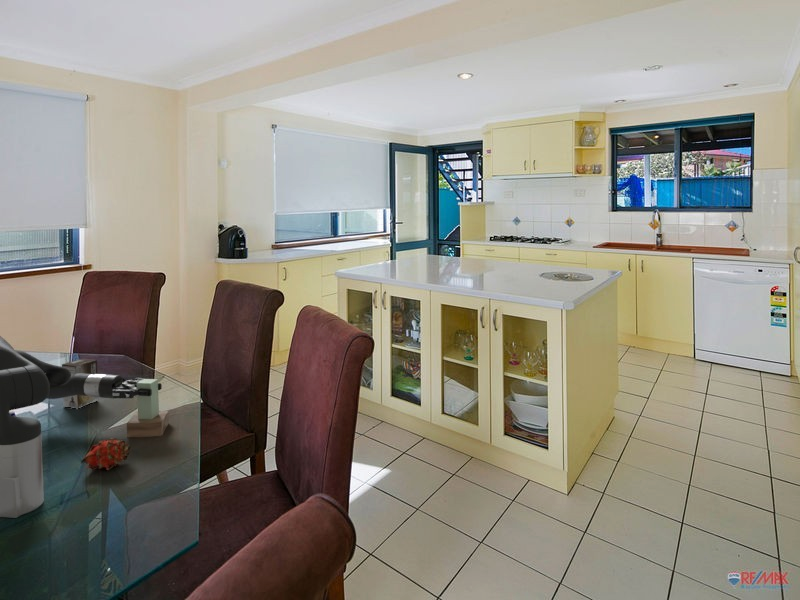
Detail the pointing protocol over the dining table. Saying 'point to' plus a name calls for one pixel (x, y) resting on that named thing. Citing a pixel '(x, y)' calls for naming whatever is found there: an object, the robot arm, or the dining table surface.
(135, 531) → the dining table surface
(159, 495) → the dining table surface
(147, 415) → the sage block
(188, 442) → the dining table surface
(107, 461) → the dragon fruit
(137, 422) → the tan flat square block
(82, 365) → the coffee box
